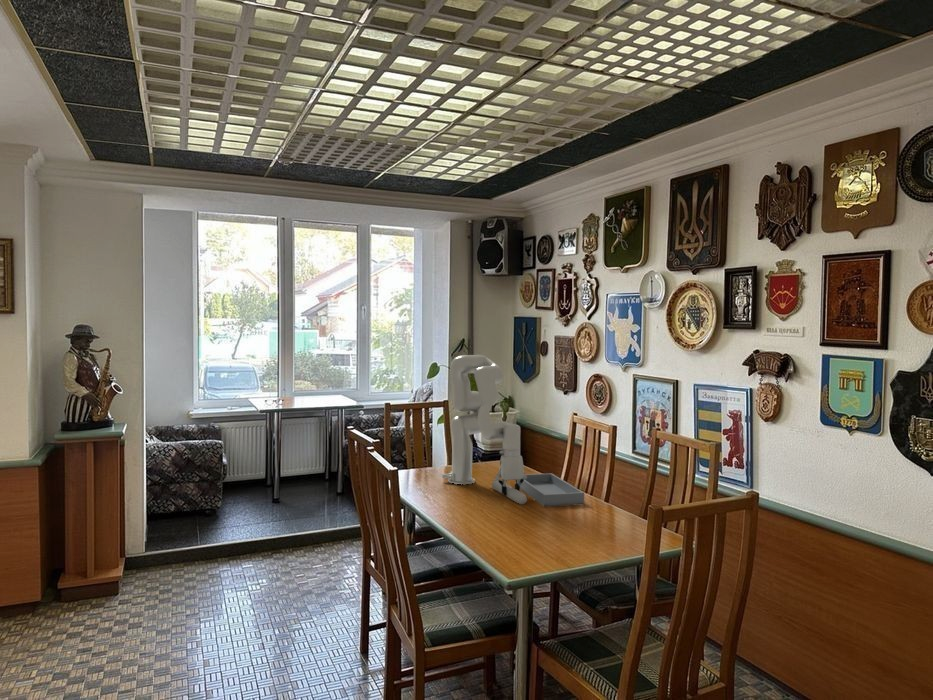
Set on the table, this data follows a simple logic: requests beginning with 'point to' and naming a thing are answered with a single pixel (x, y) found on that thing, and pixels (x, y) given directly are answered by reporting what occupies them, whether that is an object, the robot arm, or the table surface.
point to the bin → (551, 490)
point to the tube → (511, 492)
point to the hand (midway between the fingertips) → (510, 494)
